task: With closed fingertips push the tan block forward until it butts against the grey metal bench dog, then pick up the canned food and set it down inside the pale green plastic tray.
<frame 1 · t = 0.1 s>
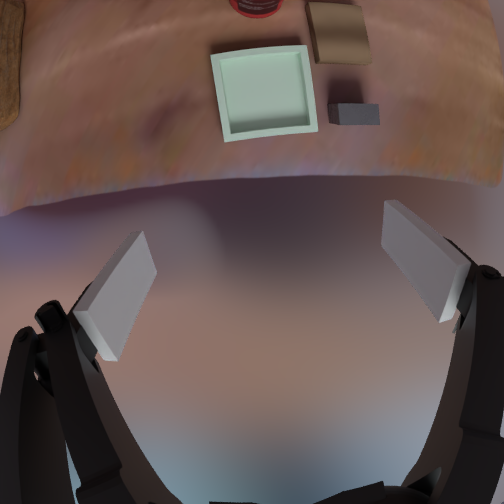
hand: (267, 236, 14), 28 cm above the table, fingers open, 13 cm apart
bench dog: (347, 113, 35), on the table
bread: (8, 64, 25), on the table
tan block: (335, 35, 29), on the table
tray: (264, 92, 34), on the table
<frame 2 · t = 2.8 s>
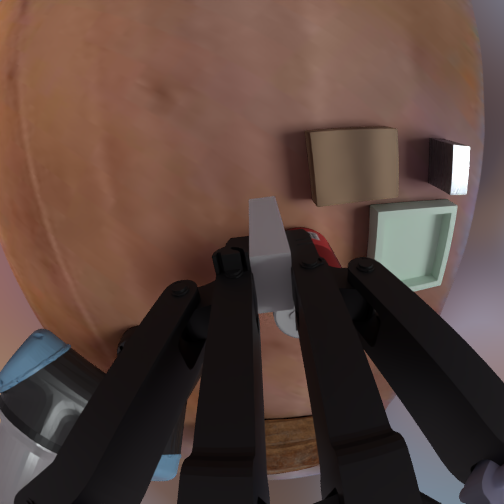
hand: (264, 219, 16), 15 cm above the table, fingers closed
canned food: (297, 252, 34), on the table
bench dog: (437, 160, 28), on the table
bread: (268, 425, 58), on the table
tan block: (349, 161, 29), on the table
tray: (407, 245, 34), on the table
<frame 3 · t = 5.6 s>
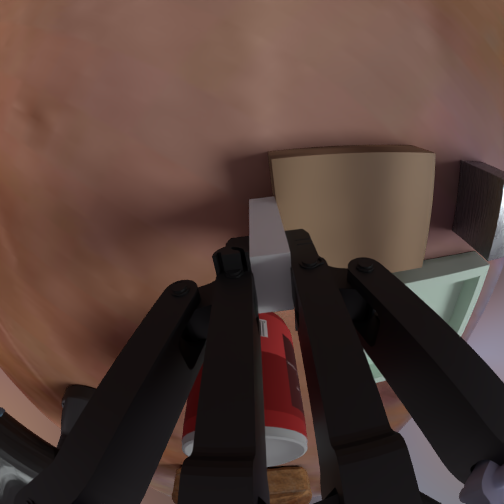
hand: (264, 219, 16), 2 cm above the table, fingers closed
canned food: (244, 334, 23), on the table
bench dog: (468, 196, 17), on the table
bread: (241, 470, 47), on the table
tan block: (347, 203, 17), on the table, touching gripper
tray: (410, 317, 23), on the table
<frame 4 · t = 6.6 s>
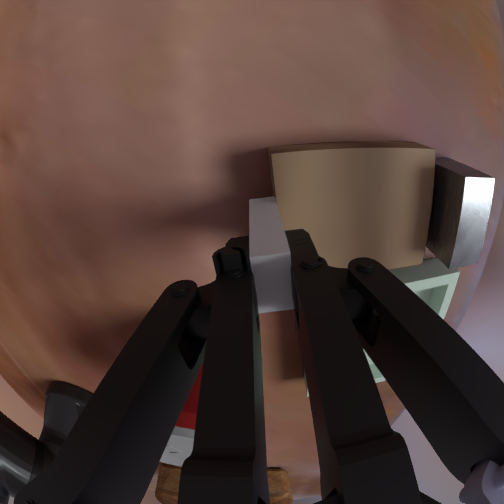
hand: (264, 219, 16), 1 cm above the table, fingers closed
canned food: (196, 338, 23), on the table
bench dog: (433, 196, 17), on the table
bread: (223, 470, 48), on the table
tan block: (347, 199, 17), on the table, touching gripper
tray: (372, 325, 23), on the table
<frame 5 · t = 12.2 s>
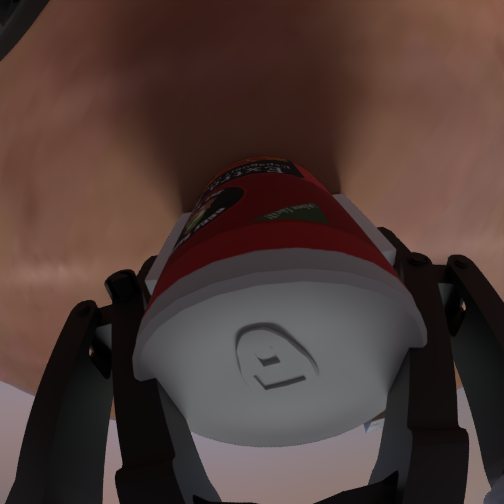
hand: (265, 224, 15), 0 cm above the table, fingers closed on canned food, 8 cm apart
canned food: (264, 220, 16), on the table, touching gripper
bench dog: (382, 382, 25), on the table
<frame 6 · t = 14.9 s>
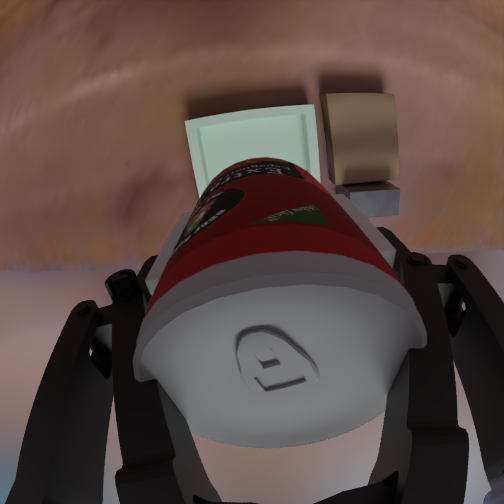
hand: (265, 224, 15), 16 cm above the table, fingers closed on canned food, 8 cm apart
canned food: (265, 221, 16), point 16 cm above the table, touching gripper
bench dog: (359, 190, 31), on the table
tan block: (356, 134, 28), on the table
tray: (256, 166, 29), on the table
when the fingers open (3 cm above the table, at t = 17.6 s): canned food drops 2 cm, resting on tray.
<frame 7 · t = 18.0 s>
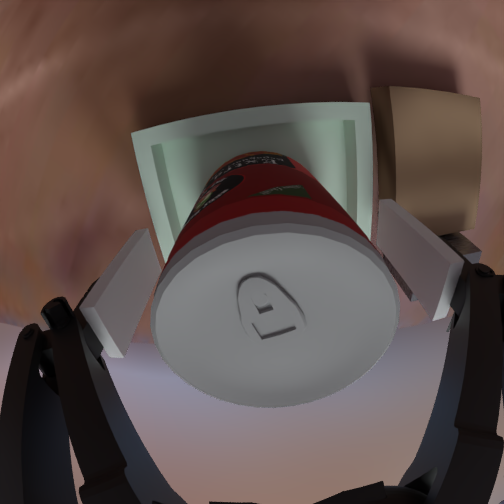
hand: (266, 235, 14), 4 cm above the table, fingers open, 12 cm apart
canned food: (262, 209, 17), resting on tray
bench dog: (416, 241, 19), on the table
tan block: (420, 157, 16), on the table
tray: (263, 208, 18), on the table
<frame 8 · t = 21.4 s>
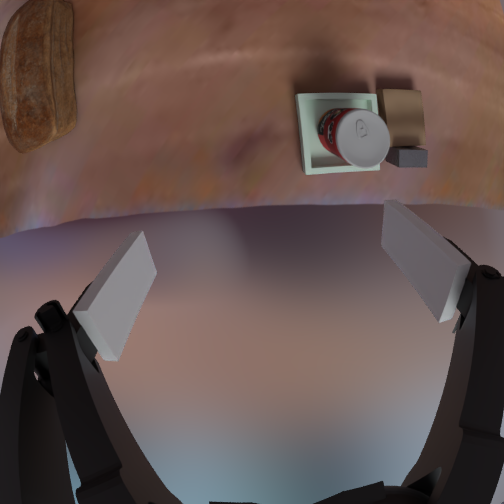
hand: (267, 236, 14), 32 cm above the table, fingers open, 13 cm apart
canned food: (338, 131, 40), resting on tray
bench dog: (399, 153, 41), on the table
bread: (55, 69, 31), on the table
tan block: (397, 116, 38), on the table
tray: (337, 131, 40), on the table
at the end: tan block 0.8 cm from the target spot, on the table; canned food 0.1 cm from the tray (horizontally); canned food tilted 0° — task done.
